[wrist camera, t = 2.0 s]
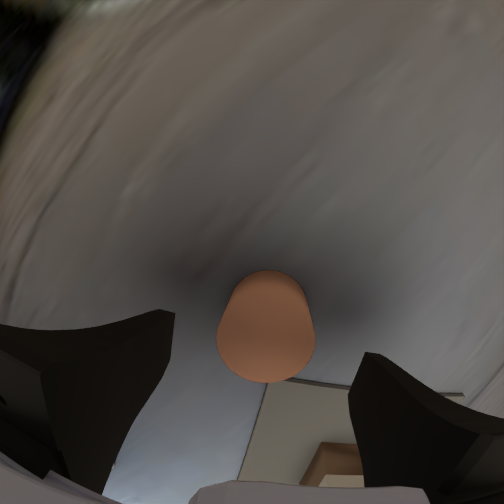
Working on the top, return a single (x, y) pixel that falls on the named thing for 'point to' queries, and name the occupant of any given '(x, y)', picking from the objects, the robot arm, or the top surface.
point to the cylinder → (266, 328)
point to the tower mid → (342, 481)
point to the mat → (298, 428)
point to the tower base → (332, 462)
